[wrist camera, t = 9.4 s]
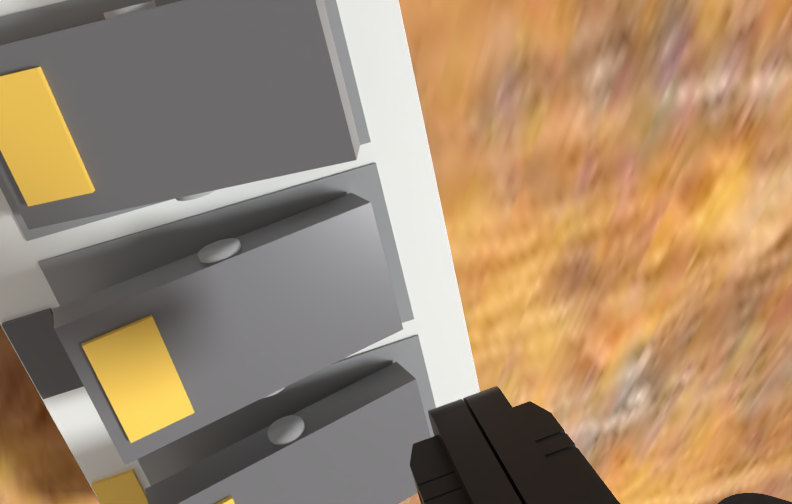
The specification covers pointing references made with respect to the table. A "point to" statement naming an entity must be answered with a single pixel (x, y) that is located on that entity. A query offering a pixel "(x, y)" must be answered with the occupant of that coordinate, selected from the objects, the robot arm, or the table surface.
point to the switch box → (232, 217)
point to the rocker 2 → (230, 323)
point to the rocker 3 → (317, 452)
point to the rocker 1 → (170, 105)
